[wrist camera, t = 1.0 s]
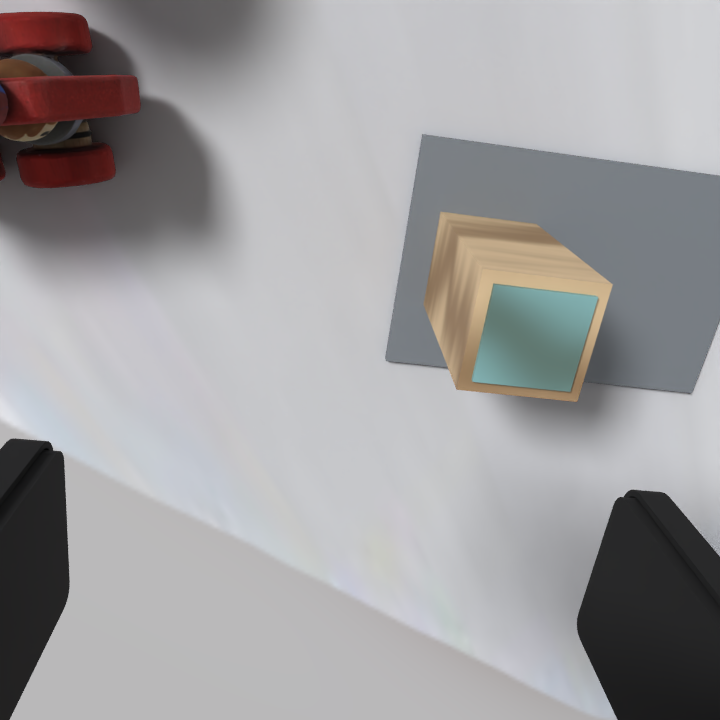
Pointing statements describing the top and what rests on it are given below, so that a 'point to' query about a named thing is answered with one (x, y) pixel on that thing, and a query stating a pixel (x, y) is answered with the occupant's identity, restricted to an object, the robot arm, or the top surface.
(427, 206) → the mat
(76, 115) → the toy fire truck
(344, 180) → the top surface
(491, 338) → the oak block
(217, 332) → the top surface
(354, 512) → the top surface
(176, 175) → the top surface
